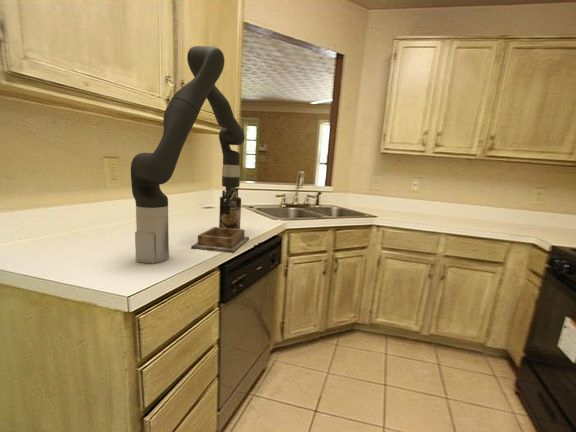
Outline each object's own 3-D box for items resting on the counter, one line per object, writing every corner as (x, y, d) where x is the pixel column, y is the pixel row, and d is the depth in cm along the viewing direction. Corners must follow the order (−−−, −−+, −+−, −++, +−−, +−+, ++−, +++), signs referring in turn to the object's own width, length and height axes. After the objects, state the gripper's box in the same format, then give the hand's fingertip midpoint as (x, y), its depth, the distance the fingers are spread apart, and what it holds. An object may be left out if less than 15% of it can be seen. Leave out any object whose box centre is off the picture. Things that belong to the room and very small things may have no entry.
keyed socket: (249, 239, 128) (249, 228, 127) (233, 253, 109) (234, 240, 108) (212, 235, 130) (212, 225, 130) (191, 248, 111) (191, 236, 110)
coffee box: (219, 235, 132) (219, 198, 130) (218, 231, 139) (219, 196, 136) (240, 235, 135) (241, 198, 132) (239, 231, 141) (240, 196, 138)
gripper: (234, 177, 125) (233, 216, 128) (244, 175, 139) (243, 210, 142) (216, 175, 126) (216, 214, 129) (228, 174, 140) (227, 209, 143)
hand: (230, 212), depth 135 cm, fingers closed on coffee box, 8 cm apart
